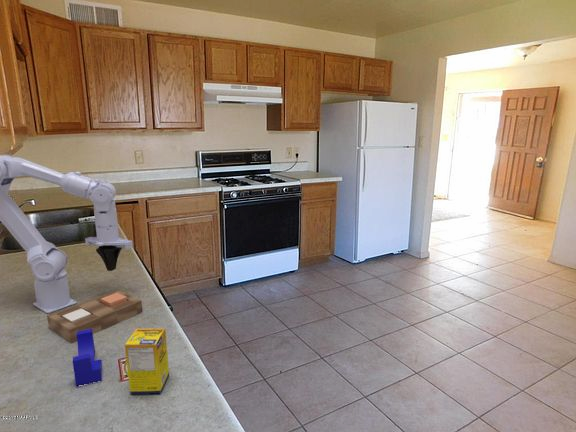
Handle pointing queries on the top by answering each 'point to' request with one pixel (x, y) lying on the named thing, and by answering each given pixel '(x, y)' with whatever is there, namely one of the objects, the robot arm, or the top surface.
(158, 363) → the supplement box
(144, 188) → the top surface
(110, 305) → the terracotta button
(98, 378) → the blue notched block
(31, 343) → the top surface
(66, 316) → the white block
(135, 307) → the brown block tray
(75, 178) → the robot arm
